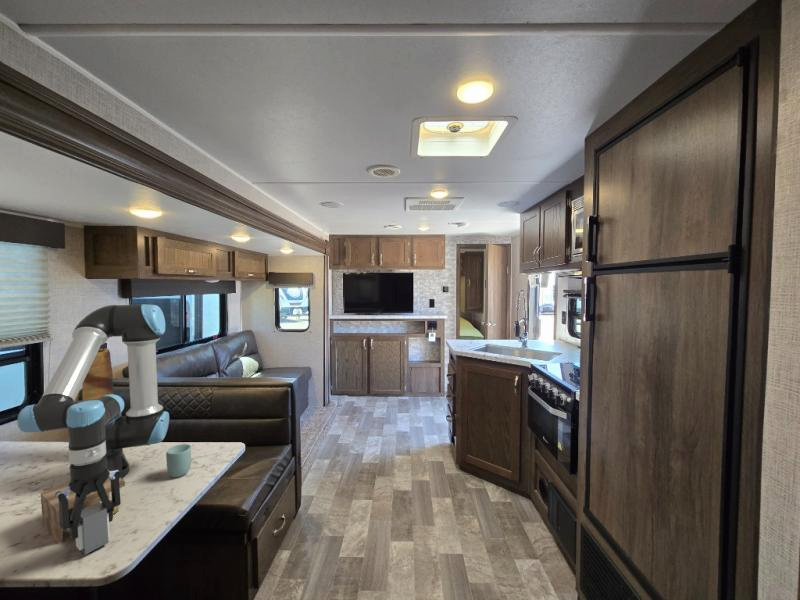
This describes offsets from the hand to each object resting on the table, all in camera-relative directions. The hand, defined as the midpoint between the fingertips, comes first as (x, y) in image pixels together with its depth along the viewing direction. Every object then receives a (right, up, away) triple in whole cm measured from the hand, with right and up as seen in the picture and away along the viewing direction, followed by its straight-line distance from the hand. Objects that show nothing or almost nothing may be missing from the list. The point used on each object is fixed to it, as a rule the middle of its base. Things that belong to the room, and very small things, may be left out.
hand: (93, 540), depth 96 cm
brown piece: (-13, -1, +12) cm, 18 cm away
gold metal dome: (-8, -1, +14) cm, 16 cm away
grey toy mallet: (-4, -1, +3) cm, 5 cm away
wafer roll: (-42, +1, +51) cm, 66 cm away
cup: (+1, 0, +36) cm, 36 cm away
